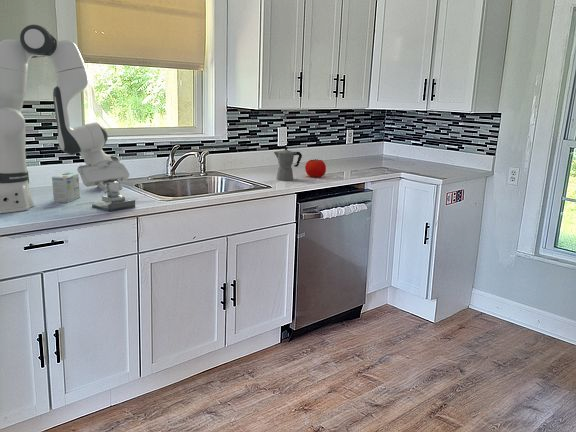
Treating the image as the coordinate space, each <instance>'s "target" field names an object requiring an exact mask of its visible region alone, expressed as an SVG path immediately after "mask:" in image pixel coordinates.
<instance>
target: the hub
mask: <svg viewBox="0 0 576 432" xmlns="http://www.w3.org/2000/svg"><path fill="white" fill-rule="evenodd" d="M107 187H108V188H109V189H110V191H109V192H107V193H106V195H101V201H102V202H108V203H117V202H122V201H126V196H125V195H121V194H120V190H119V181H112V180H108V181H107Z"/></svg>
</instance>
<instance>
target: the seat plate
mask: <svg viewBox="0 0 576 432" xmlns="http://www.w3.org/2000/svg"><path fill="white" fill-rule="evenodd" d="M92 207H93V208H96V209H99V210H103V211H106V212H108V213H109V212H110V213H112V212H117V211H122V210H127V209H132V208H136V199H133V198H132V199H129V200H128V199H127V200H125V201H122V202H117V203H108V202H104V201H102V202H99V203H93V204H92Z"/></svg>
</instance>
